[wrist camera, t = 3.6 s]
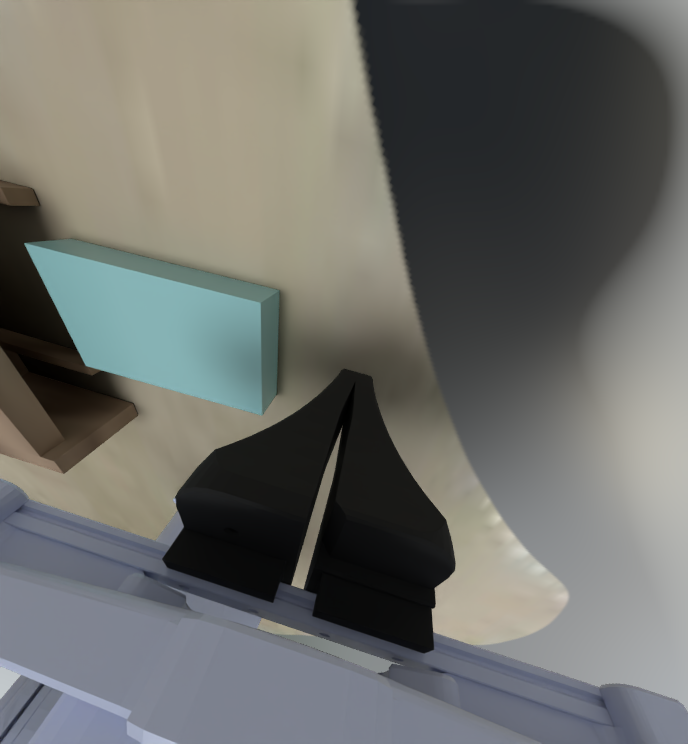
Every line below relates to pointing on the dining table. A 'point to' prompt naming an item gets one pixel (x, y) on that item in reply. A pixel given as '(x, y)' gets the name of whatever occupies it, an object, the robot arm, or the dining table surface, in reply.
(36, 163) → the dining table surface
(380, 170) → the dining table surface
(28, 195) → the shelf
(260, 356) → the tile
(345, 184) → the dining table surface
